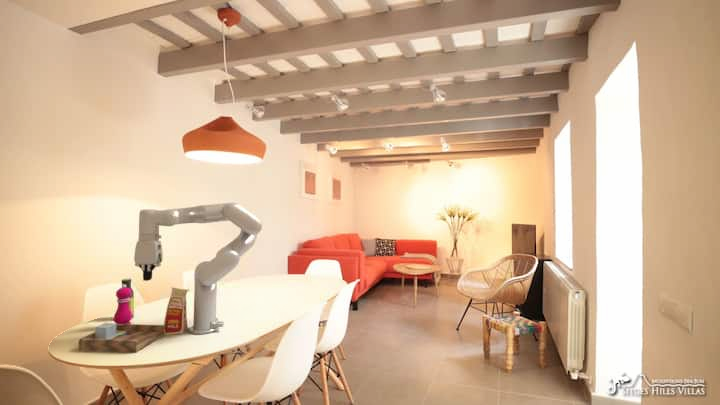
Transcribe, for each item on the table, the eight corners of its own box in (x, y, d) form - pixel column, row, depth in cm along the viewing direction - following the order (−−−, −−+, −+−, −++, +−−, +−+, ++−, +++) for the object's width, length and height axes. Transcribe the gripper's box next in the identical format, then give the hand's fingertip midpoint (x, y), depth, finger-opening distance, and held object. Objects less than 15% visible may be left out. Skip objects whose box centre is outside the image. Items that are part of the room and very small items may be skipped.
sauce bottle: (131, 315, 176) (132, 277, 177) (135, 318, 172) (137, 279, 173) (116, 318, 171) (117, 279, 171) (120, 321, 167) (121, 280, 168)
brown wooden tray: (164, 335, 150) (164, 325, 150) (136, 352, 132) (136, 341, 132) (113, 333, 151) (113, 323, 151) (78, 350, 133) (79, 339, 133)
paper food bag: (162, 334, 151) (164, 289, 151) (168, 327, 160) (169, 285, 160) (185, 333, 154) (186, 288, 154) (189, 326, 162) (190, 284, 163)
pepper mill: (122, 330, 155) (123, 286, 156) (109, 329, 157) (110, 285, 157) (135, 325, 162) (137, 283, 163) (122, 323, 164) (124, 282, 164)
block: (115, 335, 144) (116, 323, 144) (106, 339, 139) (106, 327, 139) (104, 334, 145) (105, 323, 145) (94, 339, 140) (95, 327, 140)
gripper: (170, 237, 151) (169, 278, 151) (137, 236, 152) (136, 277, 151) (160, 239, 144) (159, 282, 144) (125, 238, 144) (124, 281, 144)
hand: (147, 279), depth 147 cm, fingers closed
